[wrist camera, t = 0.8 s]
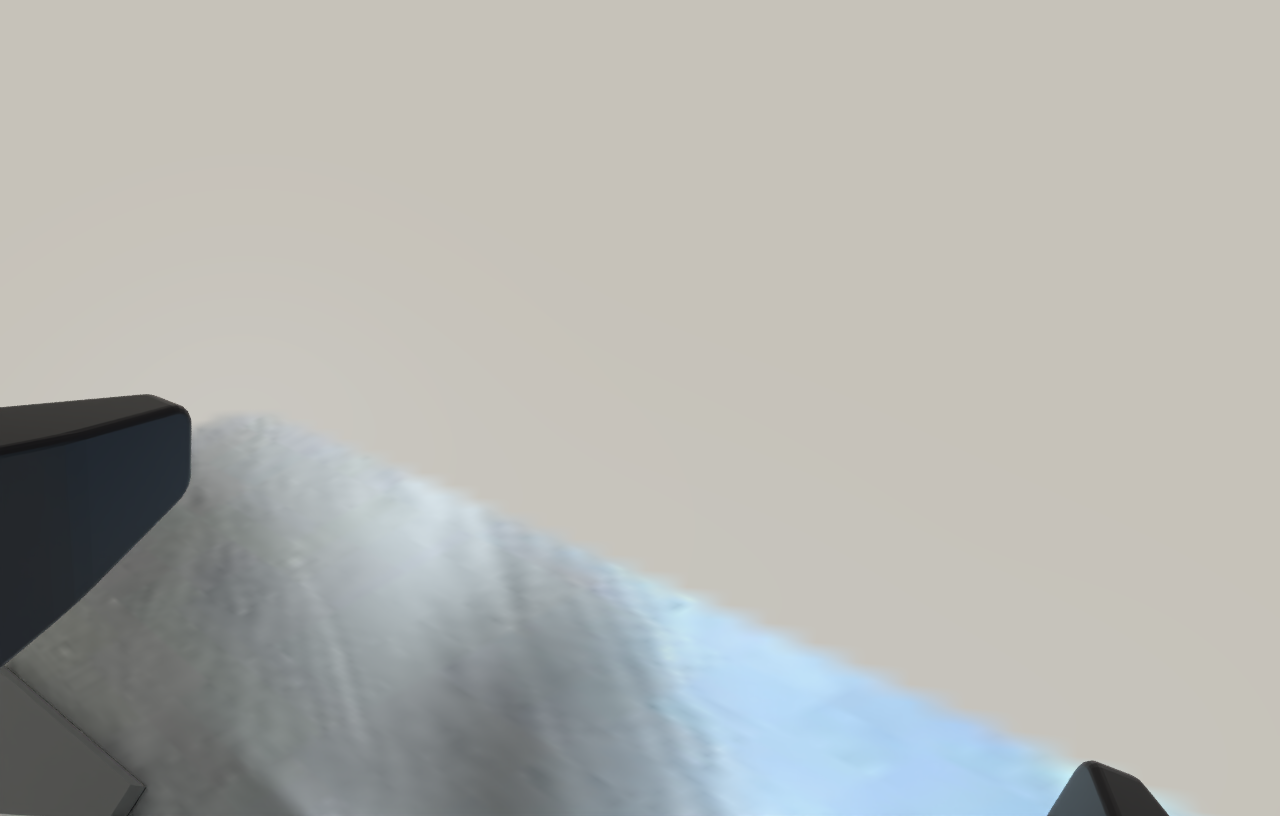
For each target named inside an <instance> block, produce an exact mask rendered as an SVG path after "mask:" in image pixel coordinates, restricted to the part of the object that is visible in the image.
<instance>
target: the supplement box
mask: <svg viewBox="0 0 1280 816" xmlns="http://www.w3.org/2000/svg"><path fill="white" fill-rule="evenodd" d="M0 816H26V815H11V814H0Z"/></svg>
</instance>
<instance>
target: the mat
mask: <svg viewBox="0 0 1280 816" xmlns="http://www.w3.org/2000/svg"><path fill="white" fill-rule="evenodd" d="M144 789H145V786H144V785H143V784H142V783H141V782H140V781H138V780H137V779H136V778H135V777H134V776H133V775H131V774H130V773H129V772H128V771H127V770H126V769H124V768H123V767H122V766H121V765H120V764H119V763H117V762H116V761H115V760H114V759H113V758H112V757H110V756H109V755H108V754H107V753H106V752H105V751H103V750H102V749H101V748H100V747H99V746H98V745H96V744H95V743H94V742H93V741H92V740H91V739H89V738H88V737H87V736H86V735H85V734H84V733H82V732H81V731H80V730H79V729H78V728H77V727H75V726H74V725H73V724H72V723H71V722H70V721H69V720H67V719H66V718H65V717H64V716H63V715H62V714H60V713H59V712H58V711H57V710H56V709H55V708H53V707H52V706H51V705H50V704H49V703H48V702H46V701H45V700H44V699H43V698H42V697H41V696H39V695H38V694H37V693H36V692H35V691H34V690H32V689H31V688H30V687H29V686H28V685H27V684H25V683H24V682H23V681H22V680H21V679H20V678H18V677H17V676H16V675H15V674H14V673H13V672H11V671H10V670H9V669H8V668H7V667H6V666H4V665H3V666H2V667H1V668H0V814H11V815H26V816H127V815H128V814H129V812H130V811H131V809H132V808H133V806H134V804H135V803H136V801H137V800H138V798H139V796H140V795H141V793H142V792H143V790H144Z"/></svg>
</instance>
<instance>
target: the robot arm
mask: <svg viewBox="0 0 1280 816" xmlns="http://www.w3.org/2000/svg"><path fill="white" fill-rule="evenodd" d="M190 478H191V418H190V416H189V413H188V411H187V410H186V409H185V408H184V407H182V406H180V405H178V404H175V403H173V402H170V401H168V400H165V399H163V398H160V397H157V396H154V395H149V394H145V395H132V396H121V397H110V398H99V399H88V400H77V401H65V402H55V403H43V404H32V405H21V406H11V407H0V668H1V667H2V666H3V665H5V664H6V663H7V662H8V661H9V660H11V659H12V658H13V657H14V656H15V655H17V654H18V653H19V652H20V651H21V650H22V649H24V648H25V647H26V646H27V645H28V644H30V643H31V642H32V641H33V640H34V639H36V638H37V637H38V636H39V635H40V634H42V633H43V632H44V631H45V630H46V629H48V628H49V627H50V626H51V625H52V624H54V623H55V622H56V621H57V620H58V619H59V618H60V617H62V616H63V615H64V614H65V613H66V612H67V611H68V610H70V609H71V608H72V607H73V606H74V605H75V604H76V603H77V602H78V601H79V600H80V599H81V598H82V597H84V596H85V595H86V594H87V593H88V592H89V591H90V590H91V589H92V588H93V587H94V586H95V585H96V584H97V583H98V582H99V581H100V580H101V579H102V578H103V577H104V576H105V575H106V574H107V573H108V572H109V571H110V570H111V569H112V568H113V567H114V566H115V565H116V564H117V563H118V562H119V561H120V560H121V559H122V558H123V557H124V556H125V555H126V554H127V553H128V552H129V551H130V550H131V549H132V548H133V547H134V546H135V544H136V543H137V542H138V541H139V540H140V539H141V538H142V537H143V536H144V535H145V534H146V533H147V532H148V531H149V530H150V529H151V528H152V527H153V526H154V525H155V524H156V523H157V522H158V521H159V520H160V519H161V518H162V517H163V516H164V515H165V514H166V513H167V512H168V511H169V510H170V509H171V508H172V507H173V506H174V505H175V504H176V503H177V502H178V501H179V500H180V499H181V497H182V496H183V494H184V493H185V491H186V489H187V487H188V485H189V482H190ZM1047 816H1169V815H1168V814H1167V812H1166V811H1165V810H1164V809H1163V808H1162V806H1161V805H1160V804H1159V803H1158V801H1157V800H1156V799H1155V798H1154V797H1153V795H1152V794H1151V793H1150V792H1149V790H1148V789H1147V788H1146V787H1145V786H1144V784H1143V783H1142V782H1141V781H1140V780H1139V779H1137V778H1136V777H1134V776H1132V775H1130V774H1127V773H1125V772H1122V771H1120V770H1117V769H1114V768H1112V767H1109V766H1106V765H1104V764H1102V763H1099V762H1096V761H1087V762H1084V763H1082V764H1081V765H1080V766H1079V767H1078V768H1077V769H1076V770H1075V772H1074V773H1073V775H1072V776H1071V778H1070V780H1069V781H1068V783H1067V784H1066V786H1065V788H1064V789H1063V791H1062V792H1061V794H1060V796H1059V797H1058V799H1057V800H1056V802H1055V804H1054V805H1053V807H1052V808H1051V810H1050V812H1049V813H1048V815H1047Z"/></svg>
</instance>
